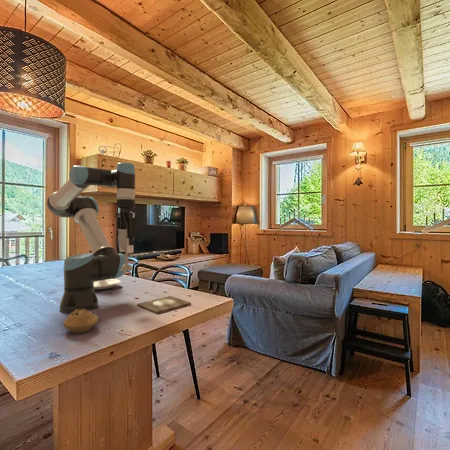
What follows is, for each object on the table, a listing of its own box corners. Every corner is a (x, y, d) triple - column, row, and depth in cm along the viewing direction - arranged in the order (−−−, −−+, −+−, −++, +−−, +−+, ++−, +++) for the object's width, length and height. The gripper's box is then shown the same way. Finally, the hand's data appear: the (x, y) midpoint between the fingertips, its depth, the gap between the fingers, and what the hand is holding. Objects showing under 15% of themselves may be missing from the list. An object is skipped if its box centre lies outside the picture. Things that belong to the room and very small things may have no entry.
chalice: (116, 271, 122) (116, 229, 121) (118, 269, 128) (118, 228, 128) (134, 271, 124) (134, 229, 123) (135, 268, 130) (135, 228, 130)
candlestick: (68, 289, 161) (67, 239, 160) (112, 282, 178) (111, 237, 177) (80, 296, 146) (79, 241, 145) (127, 288, 163) (126, 238, 162)
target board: (157, 314, 119) (157, 311, 119) (137, 305, 130) (137, 303, 130) (190, 304, 132) (190, 302, 132) (170, 297, 143) (170, 295, 143)
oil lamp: (89, 320, 112) (89, 299, 112) (103, 331, 101) (102, 308, 101) (57, 327, 105) (57, 305, 105) (68, 340, 94) (68, 315, 94)
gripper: (145, 198, 122) (145, 253, 122) (123, 200, 135) (124, 249, 135) (128, 197, 116) (129, 255, 117) (107, 199, 129) (108, 251, 130)
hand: (126, 252), depth 126 cm, fingers closed on chalice, 6 cm apart
